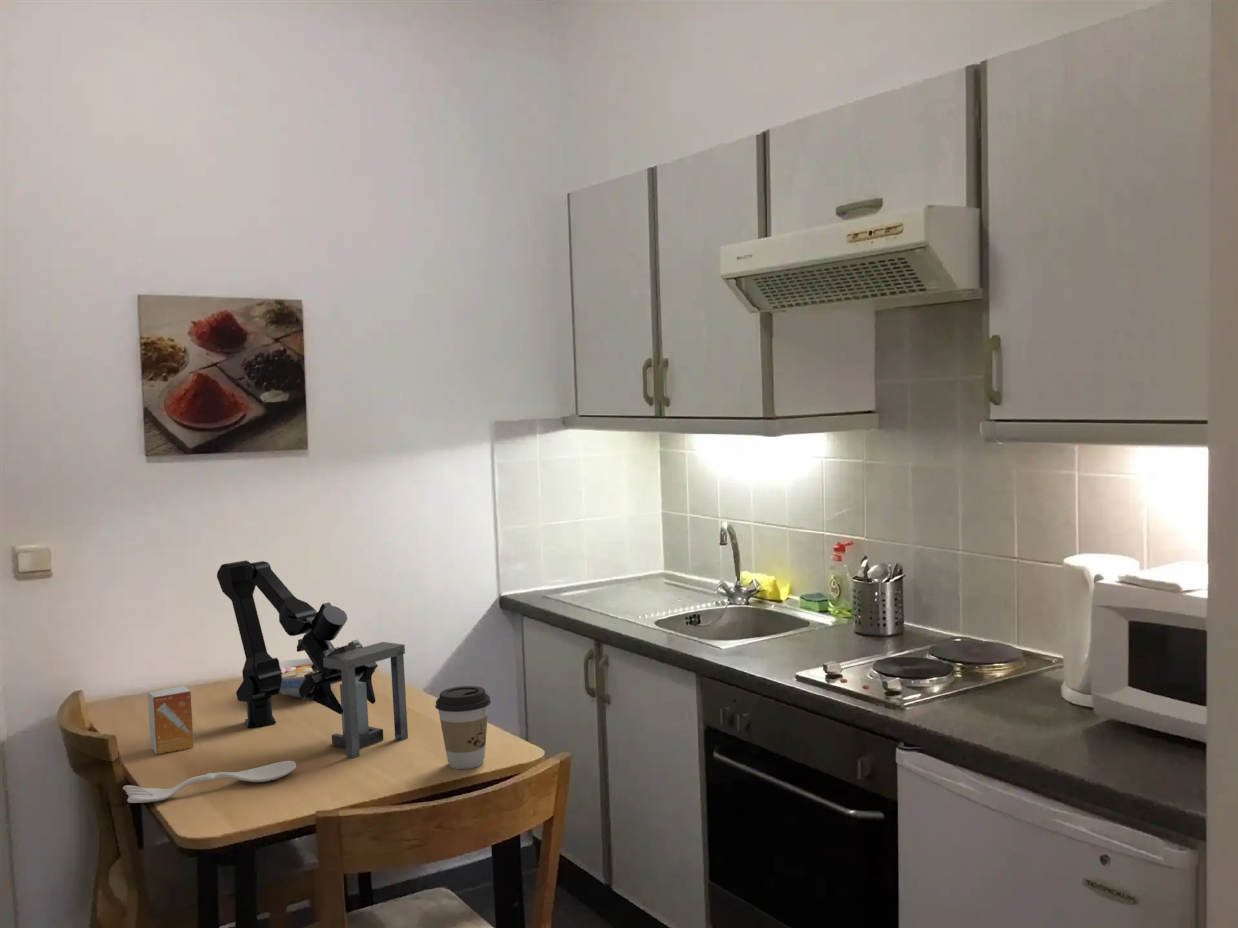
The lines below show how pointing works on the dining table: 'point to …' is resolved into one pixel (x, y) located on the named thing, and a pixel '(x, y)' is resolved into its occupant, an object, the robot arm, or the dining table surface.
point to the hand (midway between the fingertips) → (358, 707)
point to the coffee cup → (464, 725)
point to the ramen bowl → (295, 675)
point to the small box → (170, 719)
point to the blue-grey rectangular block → (359, 708)
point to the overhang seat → (347, 667)
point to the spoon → (249, 775)
